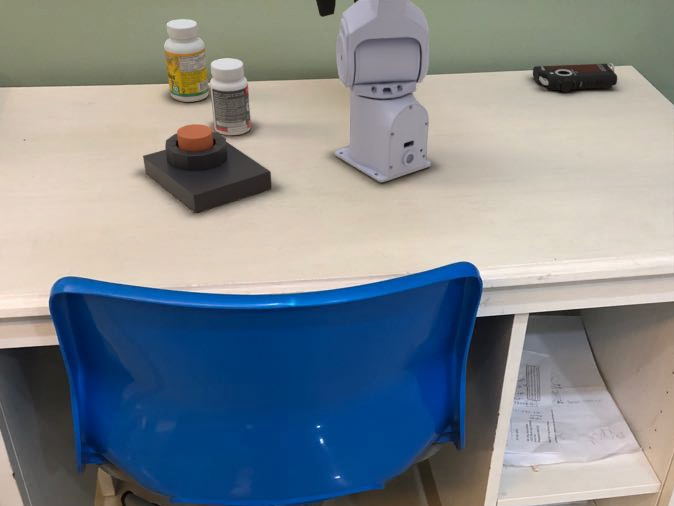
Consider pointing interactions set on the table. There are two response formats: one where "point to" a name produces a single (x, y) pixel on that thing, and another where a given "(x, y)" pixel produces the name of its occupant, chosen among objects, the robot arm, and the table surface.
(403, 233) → the table surface
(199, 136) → the orange push button
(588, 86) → the camera
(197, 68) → the supplement bottle
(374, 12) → the robot arm
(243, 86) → the pill bottle
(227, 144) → the block
